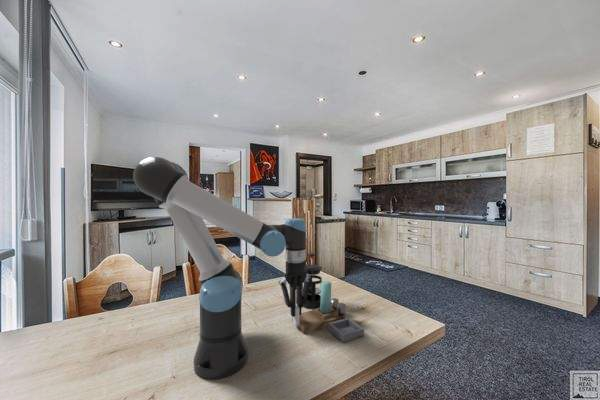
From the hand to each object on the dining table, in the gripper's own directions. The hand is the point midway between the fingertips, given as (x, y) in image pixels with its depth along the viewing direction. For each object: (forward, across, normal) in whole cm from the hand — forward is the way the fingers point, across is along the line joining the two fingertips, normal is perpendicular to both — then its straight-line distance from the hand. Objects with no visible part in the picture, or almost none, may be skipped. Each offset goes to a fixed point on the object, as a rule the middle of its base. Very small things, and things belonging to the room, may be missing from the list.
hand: (296, 324), depth 92 cm
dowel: (-1, +13, 0) cm, 13 cm away
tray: (+2, +14, -11) cm, 18 cm away
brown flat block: (+2, +9, 0) cm, 9 cm away
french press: (+2, +14, +15) cm, 21 cm away
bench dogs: (+2, +19, 0) cm, 19 cm away
